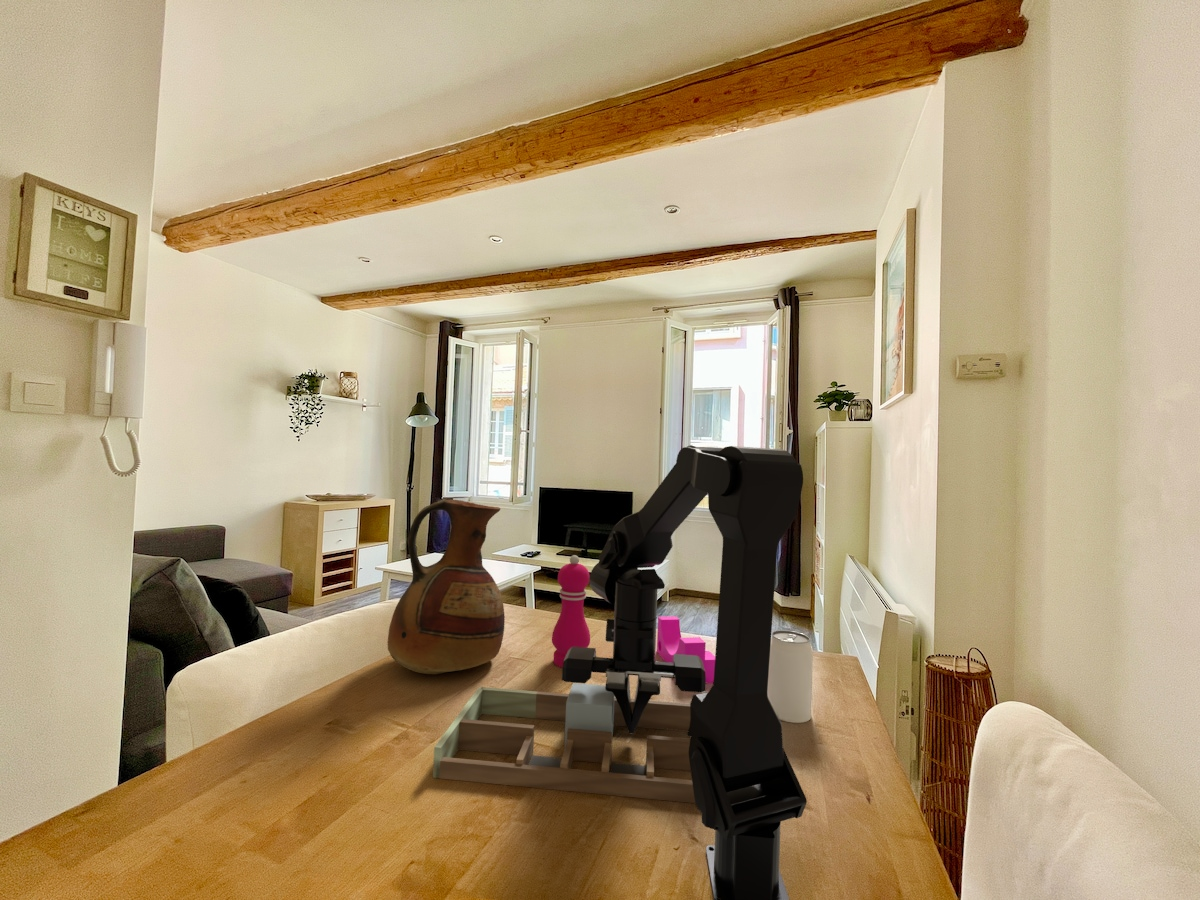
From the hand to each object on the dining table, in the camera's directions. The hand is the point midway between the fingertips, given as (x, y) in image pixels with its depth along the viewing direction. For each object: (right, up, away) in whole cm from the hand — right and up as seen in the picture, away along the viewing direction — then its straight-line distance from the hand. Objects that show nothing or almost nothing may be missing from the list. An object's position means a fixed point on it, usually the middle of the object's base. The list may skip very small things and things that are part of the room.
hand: (631, 732), depth 68 cm
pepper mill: (-10, -2, +27) cm, 29 cm away
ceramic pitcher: (-32, -1, +24) cm, 40 cm away
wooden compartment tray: (-6, -1, -3) cm, 7 cm away
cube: (-6, -1, 0) cm, 6 cm away
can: (+25, -3, +10) cm, 27 cm away
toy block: (+12, -3, +26) cm, 29 cm away
